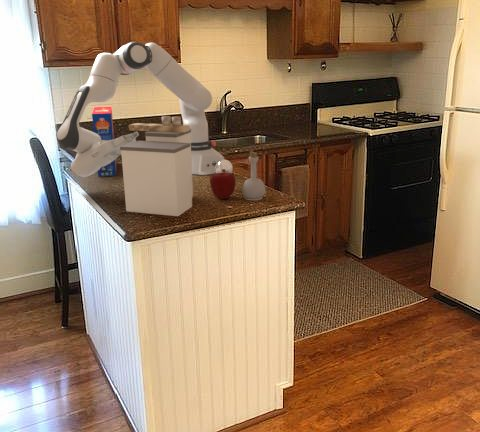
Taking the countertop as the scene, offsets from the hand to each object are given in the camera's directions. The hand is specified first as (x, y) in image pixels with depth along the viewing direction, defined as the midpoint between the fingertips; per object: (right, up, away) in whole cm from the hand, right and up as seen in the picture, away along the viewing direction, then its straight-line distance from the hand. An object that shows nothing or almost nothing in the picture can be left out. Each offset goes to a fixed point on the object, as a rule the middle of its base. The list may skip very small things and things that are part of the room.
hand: (130, 135), depth 195 cm
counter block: (+14, -26, -3) cm, 30 cm away
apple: (+34, -23, +4) cm, 42 cm away
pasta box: (-22, -8, +54) cm, 59 cm away
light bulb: (+34, -19, +16) cm, 43 cm away
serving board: (+11, +1, -5) cm, 12 cm away
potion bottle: (+46, -24, +3) cm, 52 cm away
